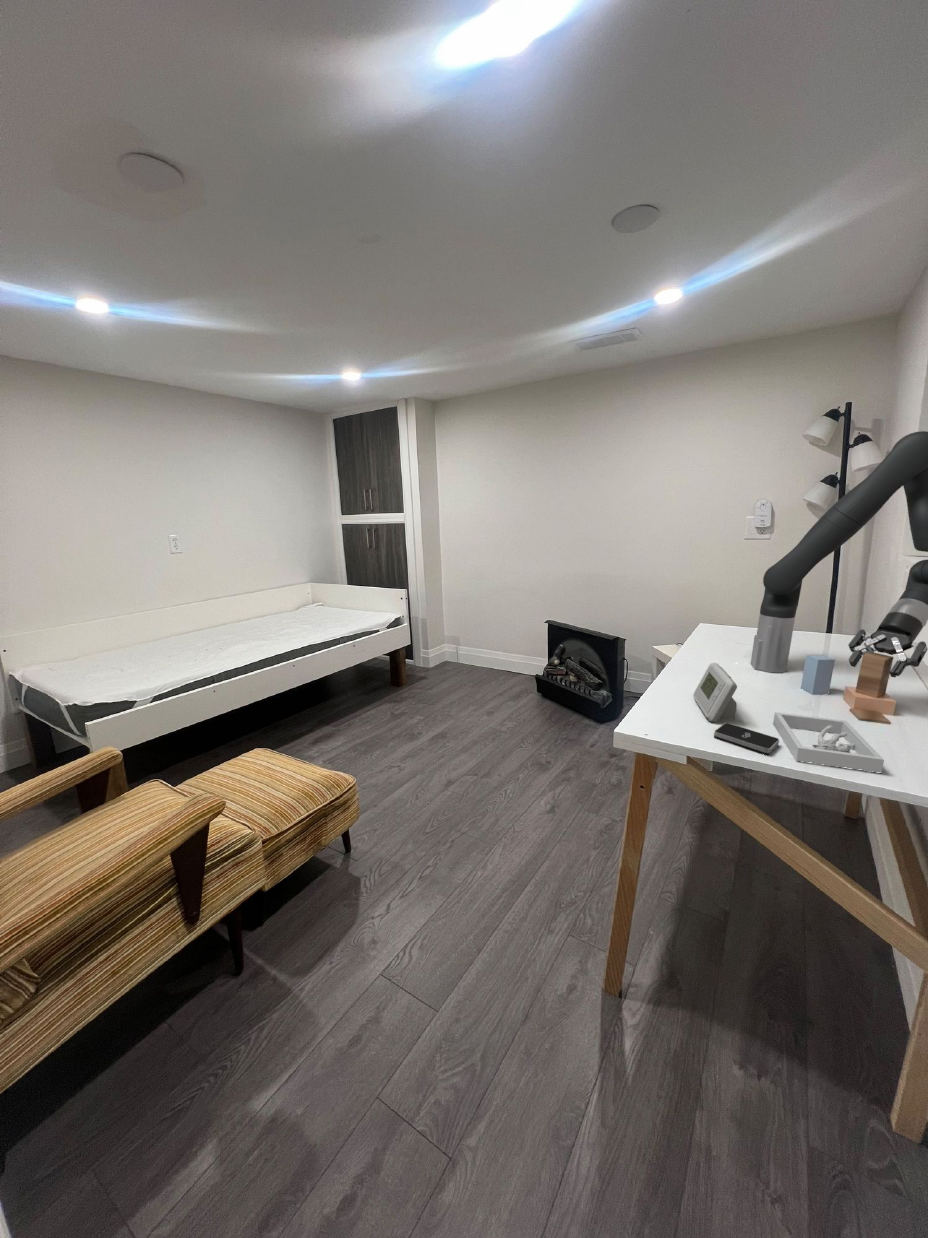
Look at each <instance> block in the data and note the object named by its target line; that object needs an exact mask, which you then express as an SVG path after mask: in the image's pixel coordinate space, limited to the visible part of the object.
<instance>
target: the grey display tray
mask: <svg viewBox="0 0 928 1238" xmlns="http://www.w3.org/2000/svg"><path fill="white" fill-rule="evenodd" d="M772 725H773V726H774V727H775V730H776V731H777V733H778V735H779V736H780V737H781V739H782V741H783V743H784V744H785V745H786V748H787V750H788V751H789V753H790V754H791V756H792V755H793V756H794V757H793V756H792V757H793V759H794V758H795V759H796V761H803V762H812V763H816V764H824V765H828V766H827V767H830V766H838V767H847V768H852V769H862V770H865V771H871V772H872V771H873V772H881V773H882V772H883V767H884V762H885V759H884V758H883V757H882V756H881V754H879V753H878V752H877V751H876V750H875V749H874V747H873V746H871V745H870V743H869V742H868V741H867V740H866V739H865V738H864V737H863V735H861V734H860V733H859V732H858V731H857V730H856V729H855V728H854V727H853V726H852V725H851V724H850V722H848V721H847V720H842V719H837V718H836V719H835V718H834V719H833V718H824V717H818V716H811V715H810V716H809V715H801V714H794V713H793V714H792V713H787V712H786V713H785V712H779V711H778V712H774V715H773V722H772ZM830 725H831V726H833V727H831V728H830V729H832V730H827V732H831V733H830V734H834V733H839V734H841V733H844V732H846V733H847V735H846V736H845V737H844V738H845V739H846V740H847V741H848V742H849V743H850V744H852V743H853V744H855V746H854V747H853V748H854V749H855V750H854V749H853V748H852V749H853V750H854V752H855V753H853V752H848V751H847V752H845V751H844V752H839V751H832V750H825V749H818V748H814V747H809V746H803V744H802V743H801V741H800V740H799V739H798V737H797V736H796V734H795V732H794V731H793V730H792V729H795V728H797V730H805V731H811V730H812V731H813V732H821V731H822V730H823V729H825V728H826V727H827V726H830ZM827 732H826V733H827ZM845 739H844V740H845ZM846 740H845V741H846ZM847 741H846V742H847ZM848 742H847V743H848ZM849 743H848V744H849ZM857 753H858V754H857ZM795 759H794V760H795ZM796 761H795V762H796ZM803 762H802V763H803ZM816 764H815V765H816ZM871 772H870V773H871Z"/></svg>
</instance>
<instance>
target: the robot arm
mask: <svg viewBox="0 0 928 1238" xmlns="http://www.w3.org/2000/svg"><path fill="white" fill-rule="evenodd" d="M901 488H903V490H904V493H905V500H906V506H907V513H908V521H909V522H908V523H909V528H910V533H911V539H912V544H913V547H914V549H915V550H916V551H918V552H924V553H925V552H926V553H928V431H926V430H924V431H923V430H920V431H914V432H911V433H909V434H906V435H904V436H903V437H901V438H900V439H899V440H898V441H897V442H896V443H895V444H894V446H893V447H892V448H891V450H890V451H889V453H888V454H887V455H886V456H885V457H884V459H883V460H882V461H881V462H880V463H879V464H878V465H877V467H876V468H875V469H874V470H873V471H872V472H871V473H869V475H868V476H867V477H866V478H864V479H863V480H862V481H861V482H859V483H858V484H857V485H855V486H854V487H853V488H852V489H850V490H849V491H848V492H846V493H845V494H844V495H843V496H842V497H841V498H840V499H839V500H837V501H836V502H835V503H834V504H833V505H832V506H831V507H830V508H828V510H826V511H825V513H824V514H823V515H822V516H820V518H818V520H817V521H816V522H815V523H814V525H812V527H811V528H810V529H809V530H808V531H807V532H806V534H804V536H803V537H802V538H801V539H800V541H799V542H798V543H797V544H796V545H795V546H794V547H793V548H792V549H791V550H790V551H789V552H788V553H786V554H785V556H783V557H782V558H781V559H779V560H778V561H777V562H776V563H775V564H773V565H772V566H770V567H768V568H767V569H766V570H765V573H764V574H763V577H762V578H763V579H762V584H763V587H764V593H763V598H762V601H761V604H760V608H759V615H758V623H757V630H756V635H754V638H753V644H752V650H751V656H750V657H751V659H750V665H751V666H752V668H753V669H754V670H758V671H763V672H768V673H775V674H777V673H785V672H786V671H787V669H788V663H789V656H790V651H791V645H792V639H793V633H794V626H795V620H796V613H797V609H798V606H799V603H800V601H799V600H800V595H801V590H802V584H803V580H804V578H805V577H806V576H807V575H808V574H809V573H810V572H811V571H812V570H813V569H814V568H815V567H816V566H817V565H818V564H819V562H822V560H824V559H825V558H827V557H828V556H830V555H831V554H832V553H833V552H835V551H836V550H838V549H839V548H840V547H841V546H842V545H844V544H846V542H848V541H849V540H850V539H851V538H853V536H855V535H856V534H857V533H858V532H859V531H860V530H861V529H862V528H863V527H864V526H865V525H866V524H867V523H868V522H870V520H872V518H874V517H875V515H876V514H877V513H878V512H879V511H880V510H881V509H882V508H883V507H884V505H886V503H887V502H888V501H889V499H891V497H892V496H893V495H894V494H895V493H896V492H898V490H900V489H901ZM927 623H928V559H922V560H919V561H917V562H916V563H914V564H913V565H911V567H910V569H909V573H908V577H907V582H906V585H905V589H904V591H903V592H902V594H901V596H900V597H899V598H898V600H897V601H896V603H894V604H893V606H892V607H891V608H890V609H889V611H888V612H887V614H886V616H885V617H884V618H883V619H882V621H881V622H880V624H879V625H878V627H877V630H875V632H872V633H871V632H867V631H866V630H865V629H859V630H858V632H857V633H856V634H855V636H854V637H853V638H852V639H851V641H850V642H849V643H848V644H847V646H848V648H849V650H850V652H851V653H852V654H851V655H850V656H849V658H848V662H849V664H850V666H851V667H853V668H856V666H857V665H858V663H859V662H860V661H861V660H862V657H863V655H864V654H867V653H870V652H874V653H876V652H877V653H880V654H882V653H883V654H887V655H889V656H894V655H897V658H898V660H896V662H895V663H894V665H893V666H892V667H891V671H890V675H889V676H890V677H892V678H896V677H899V676H901V675H902V673H903V671H904V670H905V669H906V667H909V666H912V667H914V668H916V667H919V666H920V664H921V662H922V660H923V658H924V657H925V655H926V653H927V651H928V645H927V643H926V642H925V641H922V640H921V641H919V642H915V640H916V638H917V637H918V636H919V634H920V633H921V632H922V630H923V628H924V627H926V625H927ZM909 649H913V653H912V655H911V657H906V655H905V653H904V652H905V651H907V650H909Z"/></svg>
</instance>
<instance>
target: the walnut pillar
mask: <svg viewBox="0 0 928 1238" xmlns="http://www.w3.org/2000/svg"><path fill="white" fill-rule="evenodd" d="M893 661H894V656H893V655H888V654H887V655H886V654H884V653H883V654H882V653H880V652H877V653H876V652H870V653H867V654H864V655H862V657H861V663H860V667H859V672H858V676H857V677H858V678H857V682H856V686H855V687H856V691H855V692H857V693H861V694H864V695H867V696H871V697H874V698H878V697H880V696H883V695H885V693H887V689H888V683H889V680H890V679H889V678H890V676H891V675H890V671H891V669H892V667H893V666H892V665H893Z"/></svg>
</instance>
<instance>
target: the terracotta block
mask: <svg viewBox="0 0 928 1238" xmlns="http://www.w3.org/2000/svg"><path fill="white" fill-rule="evenodd" d="M855 691H856V686H849V685H845V687H844V692H843V695H842V700H843V701H844V702H845V703H846V704H847V706H848V707H849V709H850V708H852V709H860V710H869V711H878V712H880V713H881V714H882V715H883V716H885V715H886V716H892V717H893V716H894V713H895V709H896V705H897V701H896V700H895V699H893V697H891V696H890V695H889V694H888V693H887V692H886V693H885V695H883V696H880V697H878V698H874V697H871V696H867V695H864V694H861V693H857V692H855Z"/></svg>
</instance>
